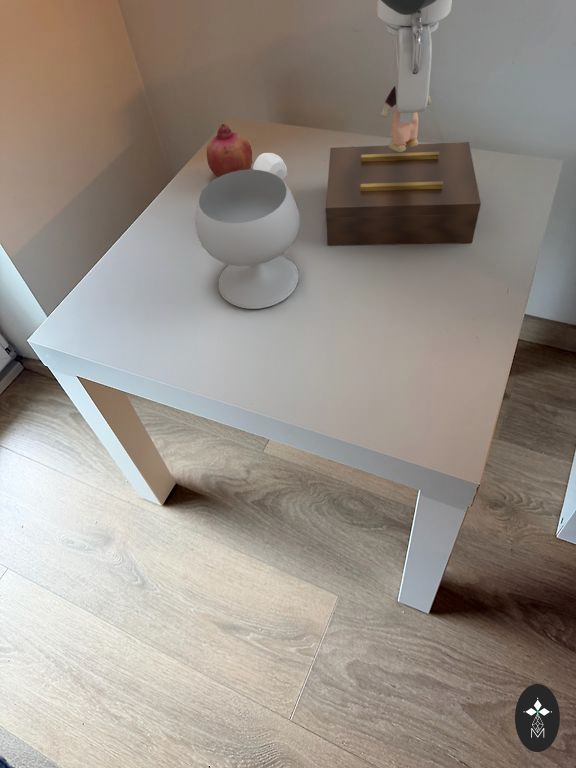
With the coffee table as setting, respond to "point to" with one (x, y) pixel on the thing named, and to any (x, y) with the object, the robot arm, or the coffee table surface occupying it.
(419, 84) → the robot arm
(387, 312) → the coffee table surface
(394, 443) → the coffee table surface
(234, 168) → the fruit
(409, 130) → the grandmother figurine
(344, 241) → the box with brass rails
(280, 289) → the chalice
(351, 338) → the coffee table surface
